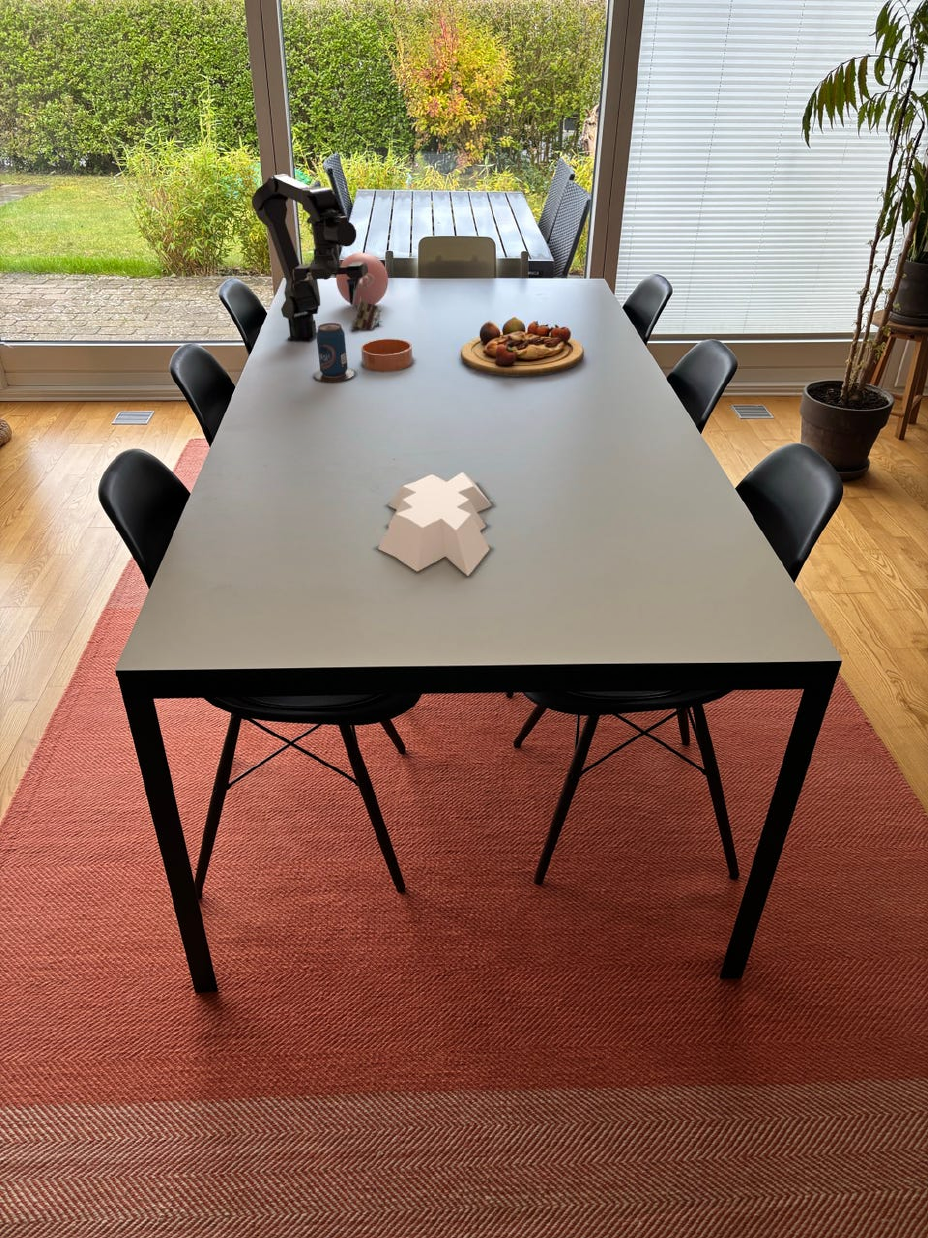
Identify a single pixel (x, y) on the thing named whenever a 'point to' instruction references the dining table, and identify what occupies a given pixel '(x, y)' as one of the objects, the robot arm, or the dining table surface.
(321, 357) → the soda can
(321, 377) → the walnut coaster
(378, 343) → the orange bowl
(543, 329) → the wooden plate
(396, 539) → the tapered cross block
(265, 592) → the dining table surface
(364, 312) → the chocolate cake
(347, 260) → the balloon
